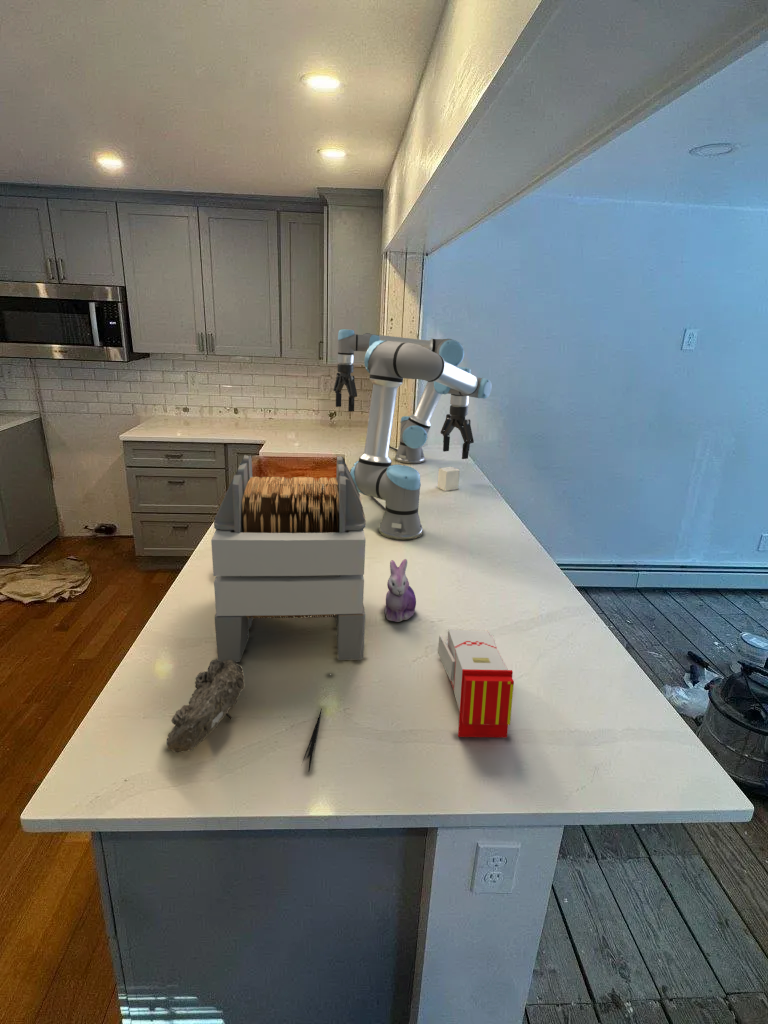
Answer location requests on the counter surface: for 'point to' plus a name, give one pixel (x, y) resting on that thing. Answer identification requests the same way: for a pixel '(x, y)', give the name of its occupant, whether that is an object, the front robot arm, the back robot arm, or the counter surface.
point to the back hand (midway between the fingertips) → (344, 409)
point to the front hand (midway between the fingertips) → (455, 454)
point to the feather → (313, 740)
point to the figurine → (399, 594)
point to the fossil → (206, 705)
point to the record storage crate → (289, 556)
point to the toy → (478, 682)
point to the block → (448, 478)
